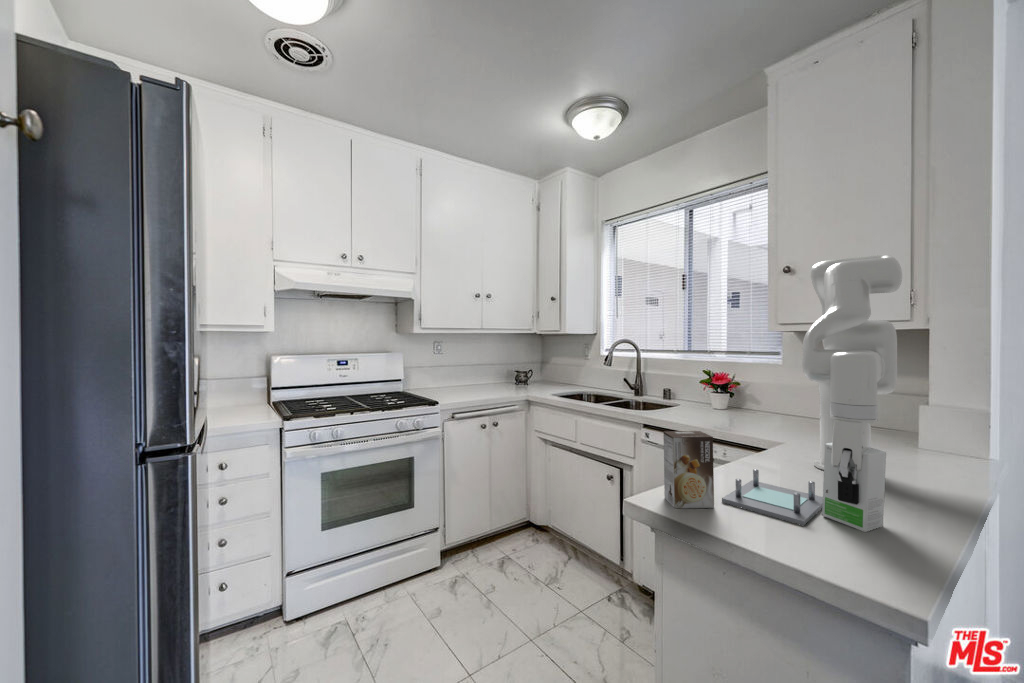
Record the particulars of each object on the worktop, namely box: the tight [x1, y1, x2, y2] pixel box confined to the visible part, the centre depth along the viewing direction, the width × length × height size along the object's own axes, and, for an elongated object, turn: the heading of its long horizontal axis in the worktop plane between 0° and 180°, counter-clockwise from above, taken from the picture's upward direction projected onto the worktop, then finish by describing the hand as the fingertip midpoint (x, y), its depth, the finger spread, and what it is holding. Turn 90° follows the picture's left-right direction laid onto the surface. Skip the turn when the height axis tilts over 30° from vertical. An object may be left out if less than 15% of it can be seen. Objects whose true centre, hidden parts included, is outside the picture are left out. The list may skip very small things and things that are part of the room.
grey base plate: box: [721, 479, 823, 527], centre depth 95 cm, size 18×16×1 cm
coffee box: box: [662, 430, 715, 509], centre depth 96 cm, size 9×6×16 cm
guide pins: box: [735, 468, 816, 514], centre depth 95 cm, size 12×13×4 cm
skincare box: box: [821, 443, 887, 533], centre depth 85 cm, size 8×7×16 cm
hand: (853, 496), depth 85 cm, fingers open, 8 cm apart
